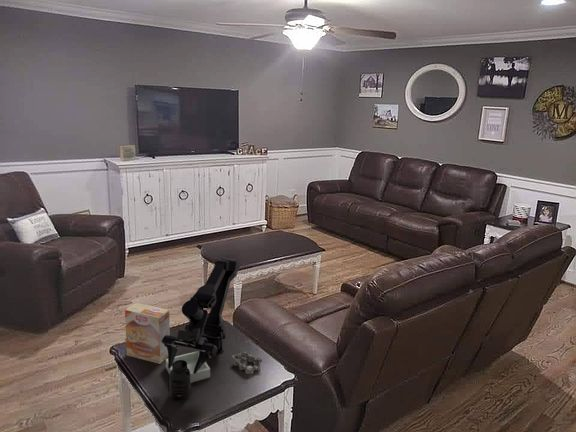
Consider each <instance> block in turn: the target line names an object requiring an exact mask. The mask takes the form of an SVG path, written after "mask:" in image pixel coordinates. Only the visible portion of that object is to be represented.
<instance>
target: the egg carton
mask: <svg viewBox="0 0 576 432" xmlns="http://www.w3.org/2000/svg"><path fill="white" fill-rule="evenodd" d="M231 356H232V358H233V366H235V367H237V366H238V368H239V370H240V371H242V370H243V371H245V374H246V375H253V374H254V372H255V371H259V372H260V370H261V364H262V362H263V359H262V358H260V357H258V356H254V355H253V354H251V353H247V352H246V351H243V352H242V351H240V353H236V354H234V355H231ZM248 362H249V363H253V366H251V365H248ZM247 365H248V366H247Z"/></svg>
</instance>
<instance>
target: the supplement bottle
mask: <svg viewBox="0 0 576 432" xmlns="http://www.w3.org/2000/svg"><path fill="white" fill-rule="evenodd" d="M168 375H169V381H168V382H169V396H170V398H171V399H172V400H173V401H176V402H182V401H185V400H186V399H188V398H189V397H190V395H191V390H192V389H191V383H190V370H189V369H188V368H187V362H186V361H184V360H177V361H175V362H174V363H173V364H172V370H171V372H170V374H169V373H168Z"/></svg>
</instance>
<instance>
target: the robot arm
mask: <svg viewBox="0 0 576 432" xmlns="http://www.w3.org/2000/svg"><path fill="white" fill-rule="evenodd" d="M238 261H239V260H237V259H233V258H226V257H222V258H221V259H216V260H215V262H214V267H213V268H212V270H211V273H210V274H209V276H208V278H207V279H206V282H205V283H204V285H202V286H200V287H199V288H198V289H197V291H196V292H195V293H194V294H193V296H192V297H190V299H189V300H187V301H186V302H184V304H183V305H182V307H181V313H182V314H183V316H185V317H186V319H188V320H189V321H188V324H186V325H185V327H184V328H180V329H178V331H177V336H173V335H170V336H169V335H165V336H164V337H163V339H162V343H163V344H164V346H165V347H167V350H168V357H167V359H168V368H169V369H170V368H171V366H172V364H173V361H174V358H175V357H176V356H177V354H178V349H177V348H178V347H182V348H187V349H191V350H197V351H199V358H198V360H197V363H196V366H195V368H194V372H193V373H194V374H196V372H197V371H198V370H199V369H200V367H201V366H202V365H203V364H204V363H205V362H206V363H207V361H208V360H209V359H211V358H213V357H216V356H217V355H218V354H221V353H224V350H225V349H223V340H225V339H226V338H227V337H226V334H227V329H226V328H225V327H224V320H223V317H222V316H223V312H224V308H225V304H226V299H227V297H228V293H229V289H230V285H231V282H232V281H233V280H234V279H235V278H236V277H237V275H238V272H239V271H240V268H241V267H240V266H241V265H240V263H239V262H238ZM207 309H208V310H210V311H209V313H208V310H207ZM202 338H204V340H203V343H202V344H201V343H200V342H201V340H202Z"/></svg>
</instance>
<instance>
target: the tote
mask: <svg viewBox="0 0 576 432" xmlns="http://www.w3.org/2000/svg"><path fill="white" fill-rule="evenodd" d="M199 351H200V350H197V351H192V352H189V353H183V354H181V355H176V356H175V358H174V361H173V363H174V362H175V361H177V360H184V361H186V362H187V368H188V369H189V370H190V383H195V382H199V381H202V380H205V379H208V378H211V368H210V366H209V365H208V363H207V361H206V362H205V363H204V364H203V365H202V366H201V367H200V369H199V370H198V371H197V372H196V374H194V373H193V372H194V368H195V366H196V363H197V360H198V358H199ZM165 369H166V371H167V372H168V375H169V374H170V372H171V370H172V366H171V368H170V369H169V368H168V358H166V359H165Z"/></svg>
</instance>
